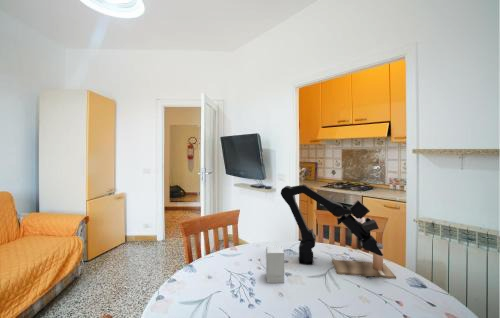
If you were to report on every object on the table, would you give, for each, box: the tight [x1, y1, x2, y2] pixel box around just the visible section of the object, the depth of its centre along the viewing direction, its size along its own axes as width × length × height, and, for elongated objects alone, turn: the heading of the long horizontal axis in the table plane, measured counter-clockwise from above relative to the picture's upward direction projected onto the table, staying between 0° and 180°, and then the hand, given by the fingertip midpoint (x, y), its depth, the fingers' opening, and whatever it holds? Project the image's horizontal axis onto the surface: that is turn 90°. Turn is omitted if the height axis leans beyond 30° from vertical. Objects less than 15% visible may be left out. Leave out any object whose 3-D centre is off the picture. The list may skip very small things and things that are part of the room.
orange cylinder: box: [372, 242, 384, 271], centre depth 100 cm, size 4×4×11 cm
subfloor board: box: [331, 259, 397, 279], centre depth 102 cm, size 24×12×1 cm, turn 79°
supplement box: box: [265, 245, 285, 284], centre depth 95 cm, size 7×7×13 cm
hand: (379, 251), depth 100 cm, fingers open, 9 cm apart
